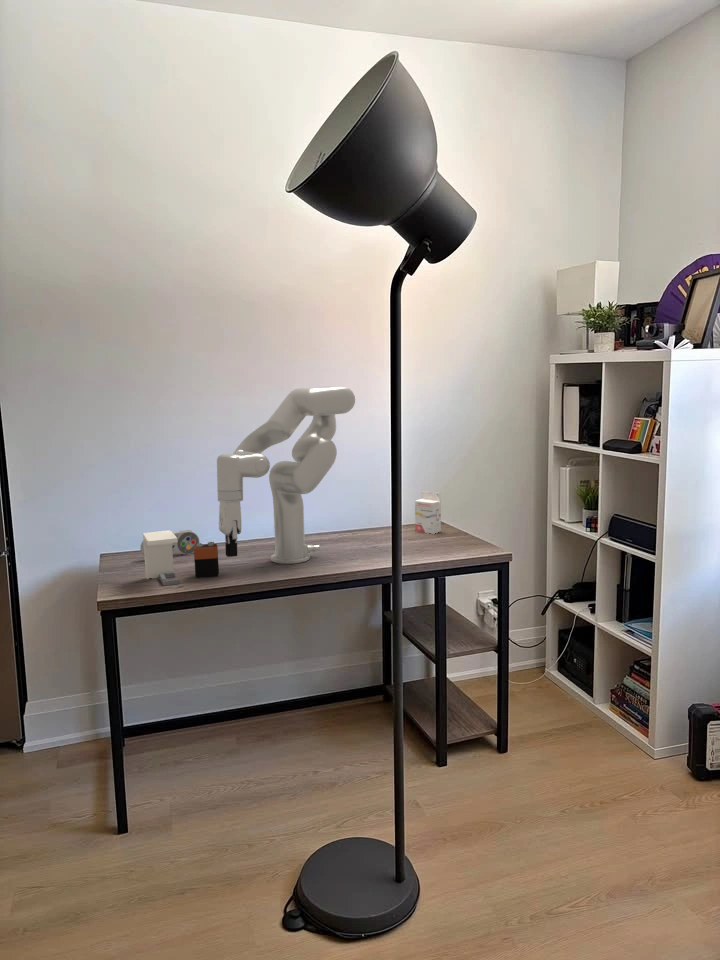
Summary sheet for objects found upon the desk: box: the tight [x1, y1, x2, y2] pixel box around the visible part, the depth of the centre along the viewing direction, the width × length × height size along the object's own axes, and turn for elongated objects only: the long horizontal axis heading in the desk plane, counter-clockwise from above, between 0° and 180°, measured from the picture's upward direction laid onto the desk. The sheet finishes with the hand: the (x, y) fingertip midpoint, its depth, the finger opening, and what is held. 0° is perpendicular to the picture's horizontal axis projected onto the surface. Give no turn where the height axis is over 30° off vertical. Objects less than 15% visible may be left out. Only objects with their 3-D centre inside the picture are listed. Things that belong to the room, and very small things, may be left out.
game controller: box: [140, 529, 201, 558], centre depth 243 cm, size 20×2×8 cm, turn 123°
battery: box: [193, 541, 220, 579], centre depth 219 cm, size 4×7×10 cm, turn 100°
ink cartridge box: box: [414, 490, 442, 535], centre depth 268 cm, size 9×5×15 cm, turn 52°
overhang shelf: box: [142, 529, 180, 586], centre depth 213 cm, size 8×12×14 cm, turn 23°
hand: (231, 555), depth 221 cm, fingers closed
